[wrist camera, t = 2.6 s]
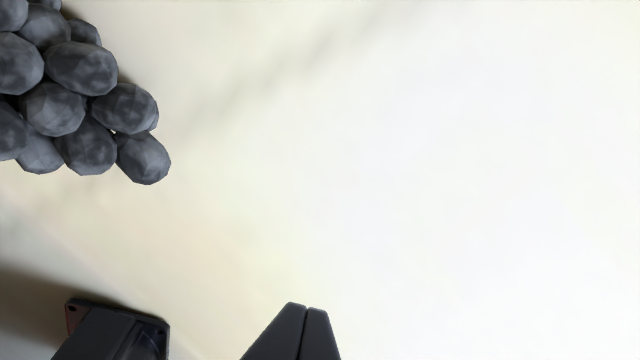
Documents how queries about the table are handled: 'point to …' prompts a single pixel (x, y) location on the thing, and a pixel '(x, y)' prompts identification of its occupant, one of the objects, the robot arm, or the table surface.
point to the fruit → (70, 99)
